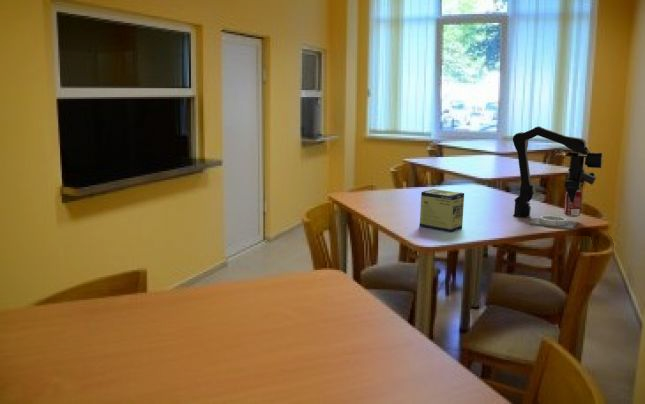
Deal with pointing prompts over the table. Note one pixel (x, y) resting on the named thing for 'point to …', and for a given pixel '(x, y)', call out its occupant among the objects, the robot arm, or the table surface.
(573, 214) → the soda can
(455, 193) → the protein box
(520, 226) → the table surface
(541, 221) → the holder
